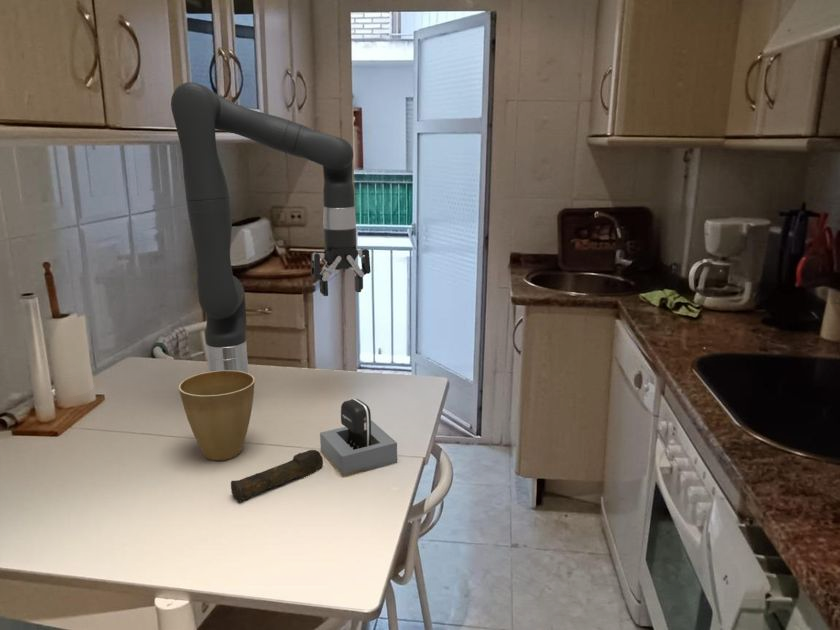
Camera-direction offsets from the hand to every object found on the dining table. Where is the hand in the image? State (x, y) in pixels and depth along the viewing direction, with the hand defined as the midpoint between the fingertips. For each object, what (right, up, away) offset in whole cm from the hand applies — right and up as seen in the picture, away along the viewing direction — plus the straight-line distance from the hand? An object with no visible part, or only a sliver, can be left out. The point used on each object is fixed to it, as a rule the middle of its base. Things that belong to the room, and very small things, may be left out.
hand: (342, 293), depth 152 cm
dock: (+6, -35, -20) cm, 41 cm away
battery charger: (+5, -34, -20) cm, 40 cm away
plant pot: (-23, -34, -18) cm, 45 cm away
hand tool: (-8, -38, -30) cm, 49 cm away
